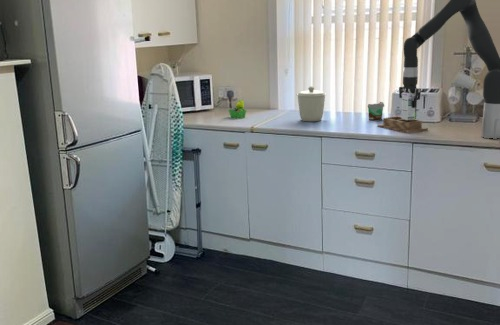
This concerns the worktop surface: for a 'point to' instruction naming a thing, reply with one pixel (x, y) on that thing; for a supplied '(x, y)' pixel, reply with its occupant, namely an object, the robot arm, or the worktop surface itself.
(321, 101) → the canister
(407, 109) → the syrup box
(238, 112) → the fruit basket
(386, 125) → the walnut socket rail
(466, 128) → the worktop surface
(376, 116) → the food container
